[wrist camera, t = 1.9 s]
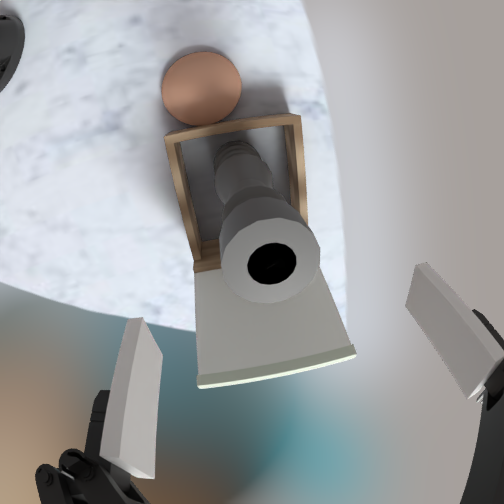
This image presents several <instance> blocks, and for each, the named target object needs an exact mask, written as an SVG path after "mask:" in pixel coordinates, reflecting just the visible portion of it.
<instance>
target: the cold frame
mask: <svg viewBox="0 0 504 504" xmlns="http://www.w3.org/2000/svg"><path fill="white" fill-rule="evenodd" d="M281 125H284V131H285V140H286V150H287V161H288V172H289V184H290V196H291V206H292V207H293V208H295V209H296V210H297V211H298V212H299V213H300V215H301V216H302V218H303V219H304V221H305V222H306V224H307V225H308V212H307V192H306V175H305V160H304V147H303V135H302V124H301V116H300V115H296V114H291V113H286V114H276V115H266V116H258V117H250V118H243V119H236V120H229V121H223V122H217V123H213V124H209V125H203V126H195V127H191V128H186V129H181V130H177V131H172V132H169V133H168V134H167V135H166V136H164V140H165V145H166V150H167V154H168V159H169V163H170V168H171V172H172V177H173V181H174V185H175V190H176V194H177V198H178V202H179V206H180V210H181V214H182V218H183V222H184V226H185V230H186V234H187V237H188V241H189V245H190V248H191V252H192V256H193V259H194V265H193V270H194V273H198V272H204V271H209V270H215V269H221V260H220V244H219V239H214V240H209V241H203V242H202V240H201V236H200V232H199V228H198V224H197V219H196V215H195V211H194V207H193V202H192V198H191V193H190V189H189V184H188V179H187V175H186V170H185V165H184V160H183V156H182V151H181V146H180V141H185V140H190V139H195V138H200V137H205V136H211V135H216V134H222V133H228V132H234V131H241V130H248V129H255V128H263V127H271V126H281Z"/></svg>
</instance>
